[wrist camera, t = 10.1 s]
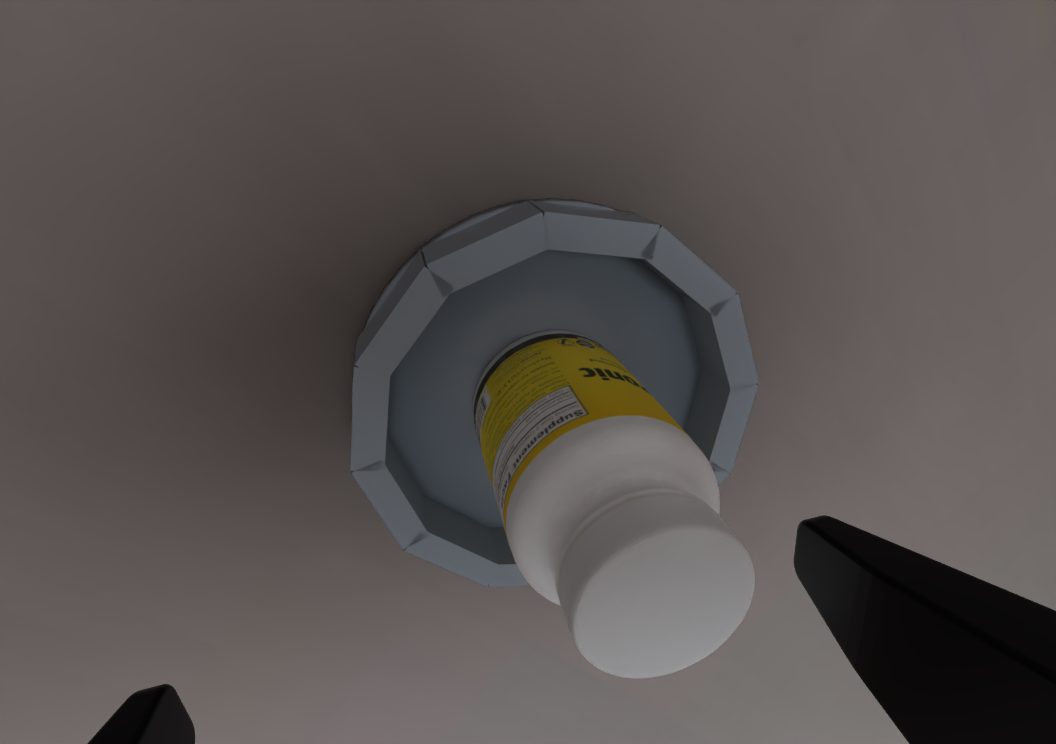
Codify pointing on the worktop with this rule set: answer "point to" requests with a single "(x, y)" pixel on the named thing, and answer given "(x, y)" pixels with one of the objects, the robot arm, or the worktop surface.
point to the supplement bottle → (609, 506)
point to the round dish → (508, 315)
